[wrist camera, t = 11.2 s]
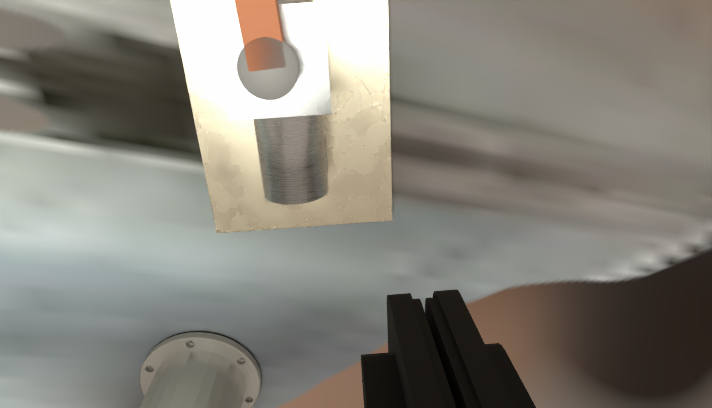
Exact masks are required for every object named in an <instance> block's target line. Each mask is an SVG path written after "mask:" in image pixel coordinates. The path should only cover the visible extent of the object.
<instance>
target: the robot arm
mask: <svg viewBox="0 0 712 408" xmlns="http://www.w3.org/2000/svg"><path fill="white" fill-rule="evenodd" d="M387 320H388V353H378V354H366V355H361V366H362V382H363V395H364V408H536V407H535V405H534V403H533V401H532V399H531V398H530V396H529V394H528V392H527V390H526V388H525V387H524V385H523V383H522V381H521V379H520V377H519V375H518V373H517V372H516V370H515V368H514V366H513V364H512V362H511V360H510V359H509V357H508V355H507V353H506V351H505V350H504V348H503V347H502V345H500V344H499V343H496V344H484V342H483V340H482V338H481V336H480V334H479V331H478V329H477V327H476V325H475V323H474V321H473V319H472V317H471V315H470V313H469V311H468V309H467V307H466V305H465V303H464V301H463V299H462V297H461V294H460V293H459V291H458V290H445V291H434V293H433V298H426V301H425V312H424V309H423V306H422V303H421V300H420V299H412V296H411V294H410V293H408V294H395V295H387ZM140 386H141V389H142V392H143V394H144V396H145V397H144V399H143V401H142V403H141V405H140V407H139V408H251V407H252V406H253V405H254V404H255V402H256V400H257V398H258V396H259V391H260V387H261V374H260V369H259V367H258V364H257V362H256V360H255V359H254V358H253V356H252V355H251V354H250V353H249V352H248V351H247V350H246V349H245V348H244V347H243V346H241V345H240V344H238V343H236V342H235V341H233V340H231V339H228V338H226V337H224V336H220V335H216V334H212V333H204V332H192V333H184V334H179V335H175V336H173V337H170V338H168V339H166V340H164V341H162V342H161V343H159V344H158V345H157V346H156V347H154V348H153V349H152V350H151V352H150V353H149V355H148V356H147V358H146V359H145V361H144V363H143V365H142V368H141V372H140Z"/></svg>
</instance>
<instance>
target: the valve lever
mask: <svg viewBox="0 0 712 408" xmlns="http://www.w3.org/2000/svg"><path fill="white" fill-rule="evenodd" d="M234 1H235V6H236V11H237V16H238V21H239V26H240V31H241V36H242V41H243V46H244V47H243V49H242V50H241V52H240V54H239V56H238V60H237V73H238V77H239V79H240V82H241V83H242V85H243V86H244V88H245V89H246V90H247V91H248V92H249V93H250V94H252V95H253V96H255V97H257V98H260V99H263V100H276V99H279V98H282V97H284V96H285V95H287V94H288V93H289V92H290V91H291V90H292V89H293V87H294V85H295V83H296V81H297V79H298V76H299V61H298V58H297V55H296V53H295V52H294V50H293V49H292V48H291V46H290V45H289V44H287V43H286V42H285V41H284V36H283V30H282V24H281V18H280V12H279V6H278V0H234Z"/></svg>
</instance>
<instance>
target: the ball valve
mask: <svg viewBox="0 0 712 408" xmlns="http://www.w3.org/2000/svg"><path fill="white" fill-rule="evenodd" d="M170 1H171V6H172V11H173V16H174V21H175V26H176V31H177V36H178V41H179V46H180V51H181V56H182V61H183V66H184V71H185V76H186V81H187V86H188V91H189V96H190V101H191V106H192V111H193V116H194V121H195V126H196V131H197V136H198V141H199V146H200V151H201V156H202V161H203V166H204V171H205V176H206V181H207V186H208V191H209V196H210V201H211V206H212V211H213V216H214V221H215V226H216V231H217V233H227V232H241V231H254V230H268V229H281V228H295V227H308V226H322V225H336V224H349V223H363V222H376V221H390V220H392V178H391V129H390V80H389V31H388V0H278V6H279V12H280V18H281V24H282V30H283V36H284V41H285V42H286V43H287V44H289V45H290V46H291V48H292V49H293V50H294V52H295V53H296V55H297V58H298V61H299V76H298V79H297V81H296V83H295V85H294V87H293V89H292V90H291V91H290V92H289V93H288V94H287V95H285V96H284V97H282V98H279V99H276V100H263V99H260V98H257V97H255V96H253V95H252V94H250V93H249V92H248V91H247V90H246V89H245V88H244V86H243V85H242V83H241V82H240V79H239V77H238V73H237V60H238V56H239V54H240V52H241V50H242V49H243V47H244V46H243V41H242V36H241V31H240V26H239V21H238V16H237V11H236V6H235V1H234V0H170Z"/></svg>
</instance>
